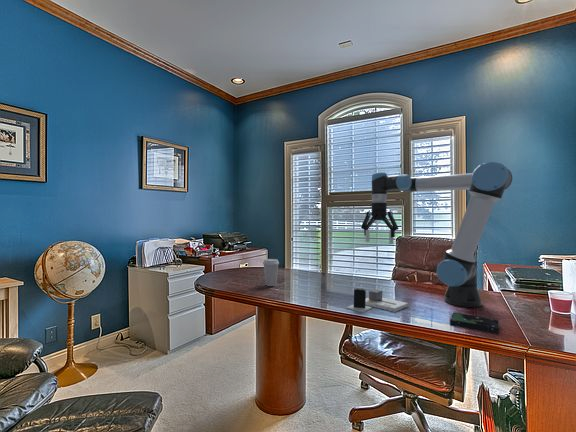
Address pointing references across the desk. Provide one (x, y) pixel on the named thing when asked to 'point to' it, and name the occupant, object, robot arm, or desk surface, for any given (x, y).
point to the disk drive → (474, 323)
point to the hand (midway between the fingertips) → (378, 243)
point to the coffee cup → (270, 271)
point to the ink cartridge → (359, 298)
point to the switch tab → (375, 295)
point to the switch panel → (386, 304)
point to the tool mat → (359, 308)
